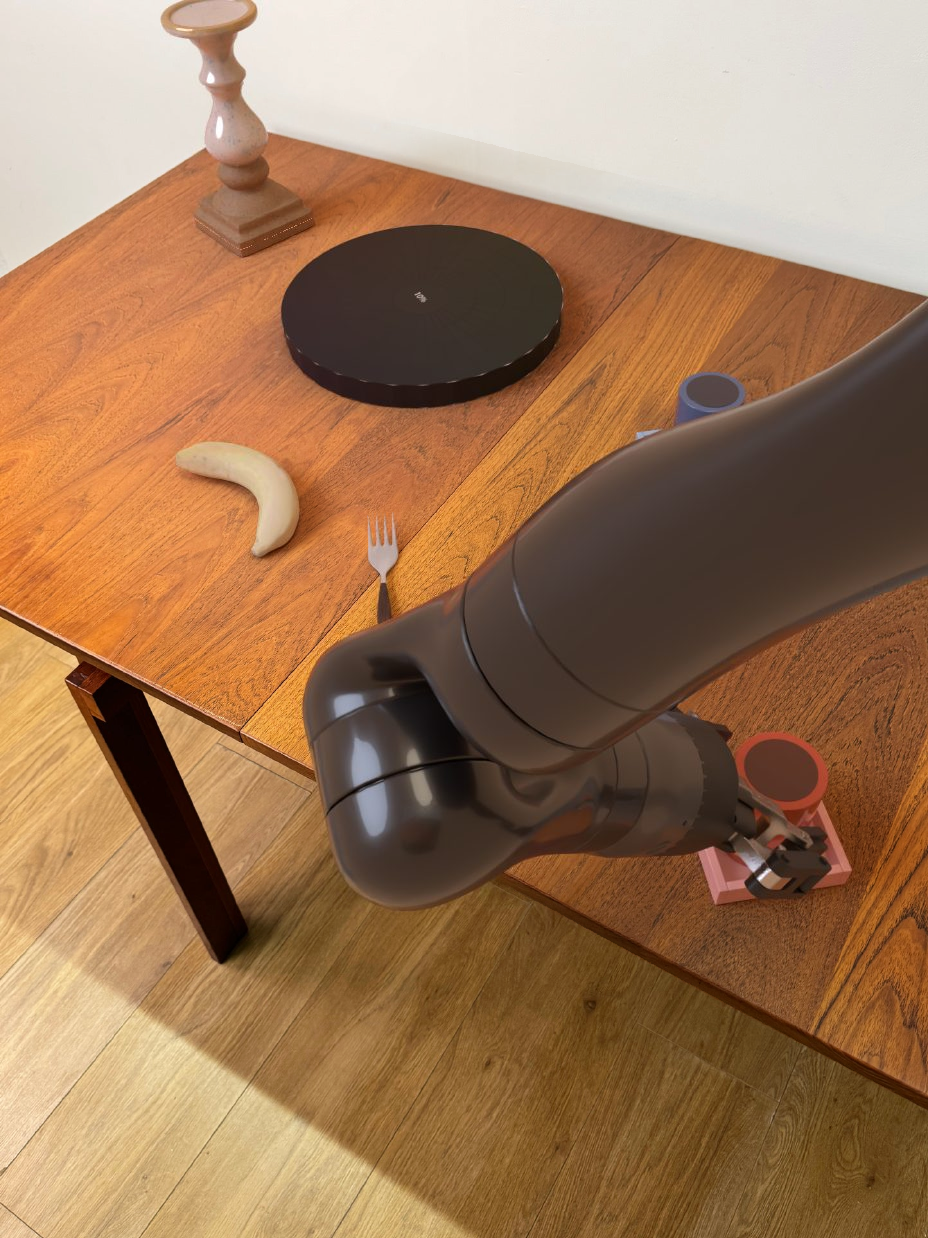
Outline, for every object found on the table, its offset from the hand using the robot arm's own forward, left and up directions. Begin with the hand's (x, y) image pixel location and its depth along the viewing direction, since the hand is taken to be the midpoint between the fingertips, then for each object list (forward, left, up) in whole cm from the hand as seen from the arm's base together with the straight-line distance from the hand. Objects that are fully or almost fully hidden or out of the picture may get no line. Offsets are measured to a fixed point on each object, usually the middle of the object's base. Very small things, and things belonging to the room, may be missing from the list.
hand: (764, 790), depth 62 cm
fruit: (+34, -40, -7) cm, 53 cm away
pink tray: (-1, 0, -7) cm, 7 cm away
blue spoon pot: (-8, -37, -6) cm, 38 cm away
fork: (+22, -26, -7) cm, 35 cm away
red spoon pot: (-1, 0, -6) cm, 6 cm away
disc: (+14, -65, -7) cm, 67 cm away
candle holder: (+32, -90, -7) cm, 96 cm away
